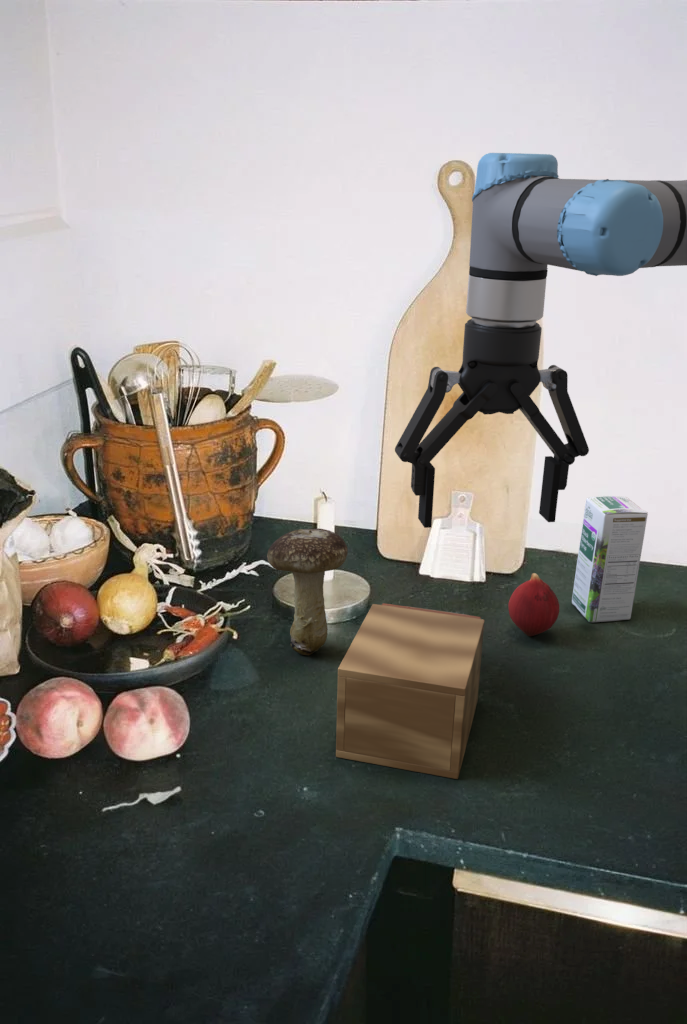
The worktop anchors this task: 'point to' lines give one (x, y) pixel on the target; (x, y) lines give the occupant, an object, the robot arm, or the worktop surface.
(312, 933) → the worktop surface
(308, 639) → the mushroom
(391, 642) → the cabinet
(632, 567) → the syrup box
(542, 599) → the onion
